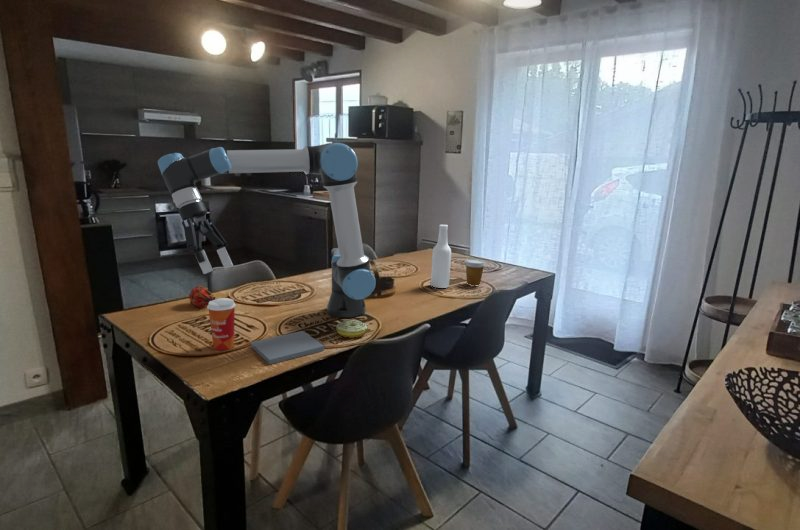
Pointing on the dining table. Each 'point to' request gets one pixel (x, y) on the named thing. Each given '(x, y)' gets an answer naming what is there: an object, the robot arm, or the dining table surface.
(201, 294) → the dragon fruit
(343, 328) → the decorated donut
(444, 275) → the alcohol
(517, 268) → the dining table surface
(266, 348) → the slate board
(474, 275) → the disposable coffee cup
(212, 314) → the coffee cup
